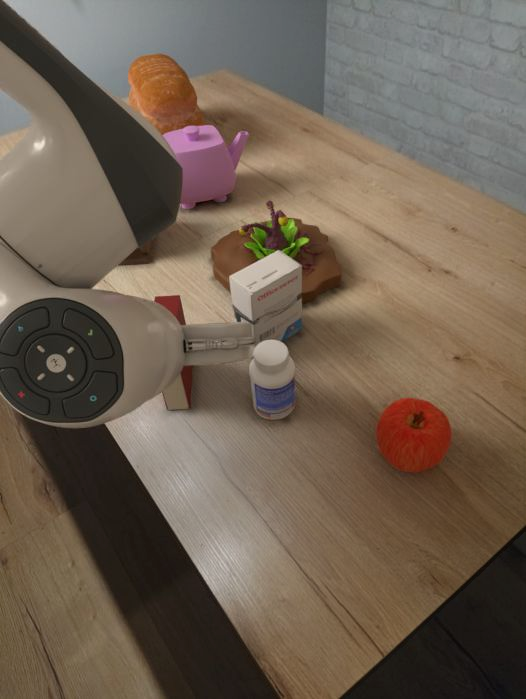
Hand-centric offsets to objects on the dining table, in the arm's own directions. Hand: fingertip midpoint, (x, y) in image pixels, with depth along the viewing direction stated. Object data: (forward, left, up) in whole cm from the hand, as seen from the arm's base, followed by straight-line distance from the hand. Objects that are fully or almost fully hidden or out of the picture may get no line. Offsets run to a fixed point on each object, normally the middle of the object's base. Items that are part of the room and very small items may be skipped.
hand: (163, 343), depth 57 cm
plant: (+14, +26, -12) cm, 32 cm away
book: (0, +3, -11) cm, 12 cm away
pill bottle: (+12, -1, -12) cm, 17 cm away
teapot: (+1, +50, -12) cm, 52 cm away
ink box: (+12, +11, -12) cm, 20 cm away
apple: (+27, -9, -12) cm, 31 cm away
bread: (-7, +74, -12) cm, 76 cm away
